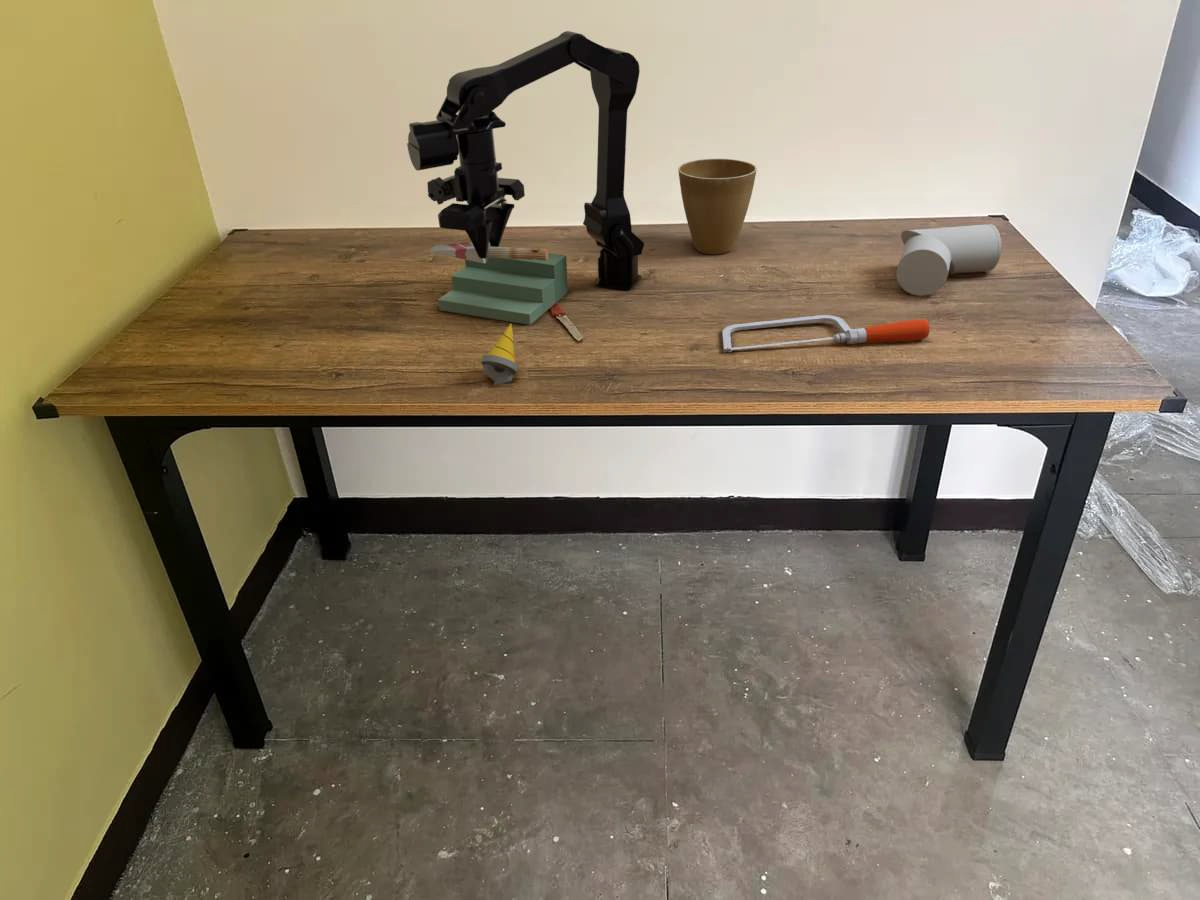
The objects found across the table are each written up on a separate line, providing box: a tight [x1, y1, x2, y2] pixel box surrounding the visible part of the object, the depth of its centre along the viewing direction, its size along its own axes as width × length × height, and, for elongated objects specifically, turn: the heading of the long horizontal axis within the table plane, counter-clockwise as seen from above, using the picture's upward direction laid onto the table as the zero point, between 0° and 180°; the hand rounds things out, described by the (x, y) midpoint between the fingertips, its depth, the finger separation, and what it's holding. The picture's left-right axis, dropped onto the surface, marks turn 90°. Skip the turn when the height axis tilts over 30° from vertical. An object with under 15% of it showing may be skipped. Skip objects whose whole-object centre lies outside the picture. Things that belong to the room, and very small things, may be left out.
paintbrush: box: [428, 241, 549, 264], centre depth 149 cm, size 4×3×20 cm
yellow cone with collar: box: [480, 323, 519, 386], centre depth 133 cm, size 5×5×10 cm
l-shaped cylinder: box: [895, 223, 1002, 297], centre depth 160 cm, size 18×10×20 cm
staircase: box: [437, 244, 569, 326], centre depth 157 cm, size 18×15×7 cm
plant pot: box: [677, 158, 758, 255], centre depth 174 cm, size 15×15×16 cm
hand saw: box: [721, 314, 930, 353], centre depth 143 cm, size 33×3×10 cm
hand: (488, 253), depth 149 cm, fingers closed on paintbrush, 4 cm apart
